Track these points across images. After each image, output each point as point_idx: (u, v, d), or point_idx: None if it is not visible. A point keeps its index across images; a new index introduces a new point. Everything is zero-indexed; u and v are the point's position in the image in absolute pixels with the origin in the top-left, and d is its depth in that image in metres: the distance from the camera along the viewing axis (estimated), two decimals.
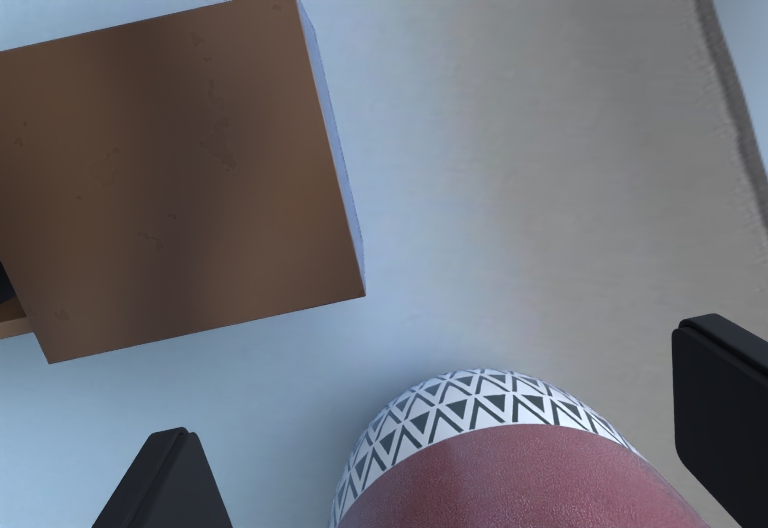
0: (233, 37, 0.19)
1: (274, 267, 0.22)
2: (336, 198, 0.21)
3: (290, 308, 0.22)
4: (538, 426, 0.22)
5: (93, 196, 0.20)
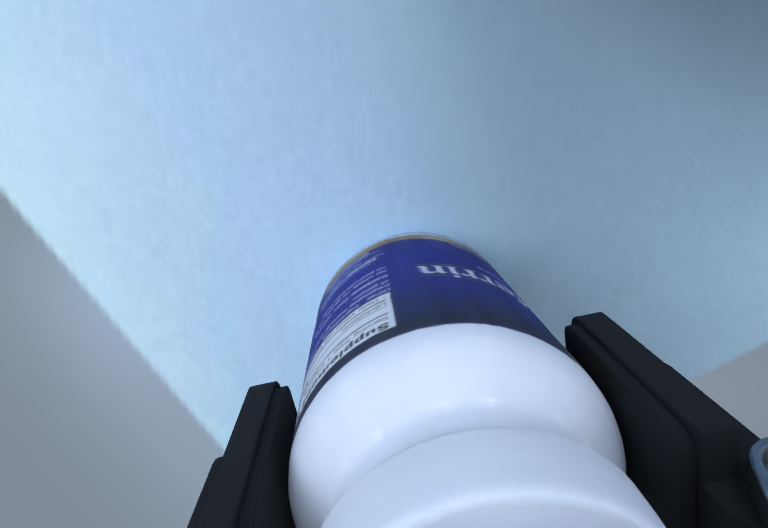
0: None
1: None
2: None
3: None
4: None
5: None
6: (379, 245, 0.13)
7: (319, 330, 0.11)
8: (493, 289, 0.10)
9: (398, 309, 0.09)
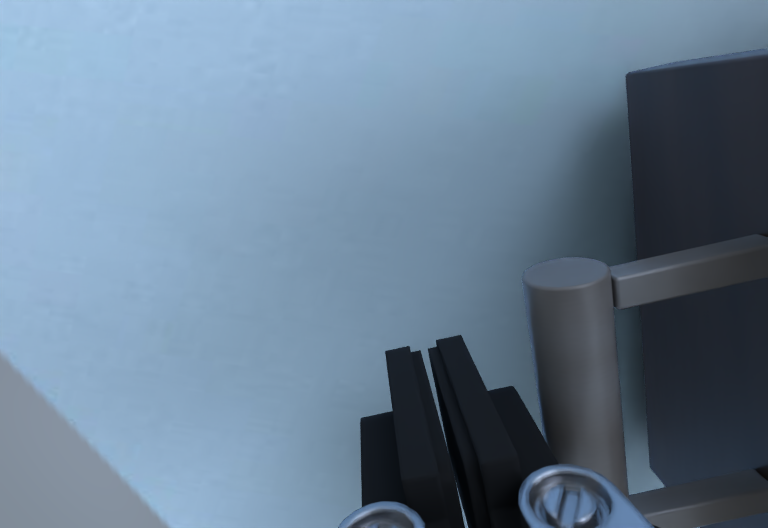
0: None
1: None
2: None
3: None
4: None
5: None
6: None
7: None
8: None
9: None
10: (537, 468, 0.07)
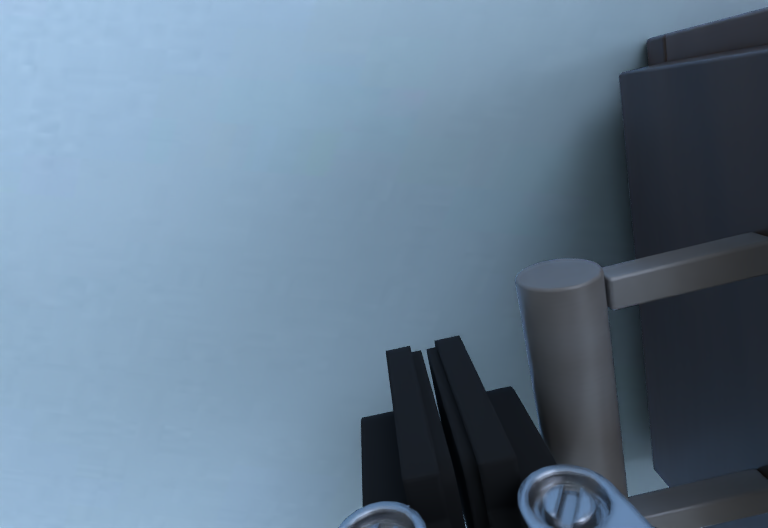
0: None
1: None
2: None
3: None
4: None
5: None
6: None
7: None
8: None
9: None
10: (536, 469, 0.07)
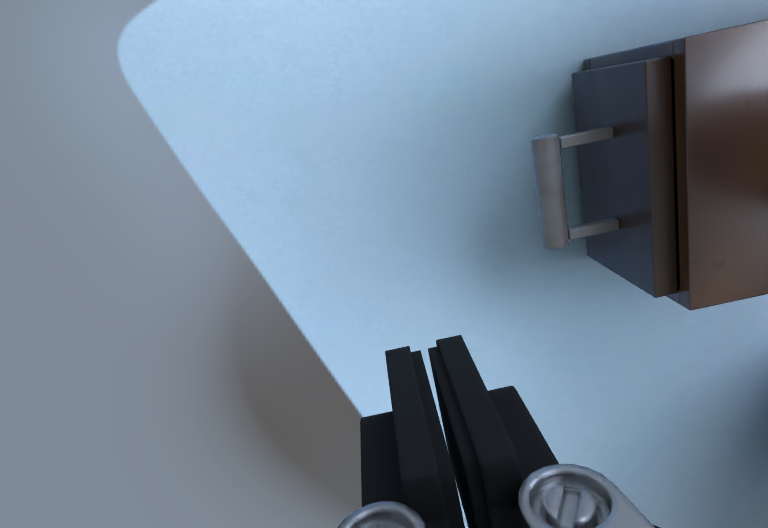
0: None
1: None
2: None
3: None
4: None
5: None
6: None
7: None
8: None
9: None
10: (537, 468, 0.07)
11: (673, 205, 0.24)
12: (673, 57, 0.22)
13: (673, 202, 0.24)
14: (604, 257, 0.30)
